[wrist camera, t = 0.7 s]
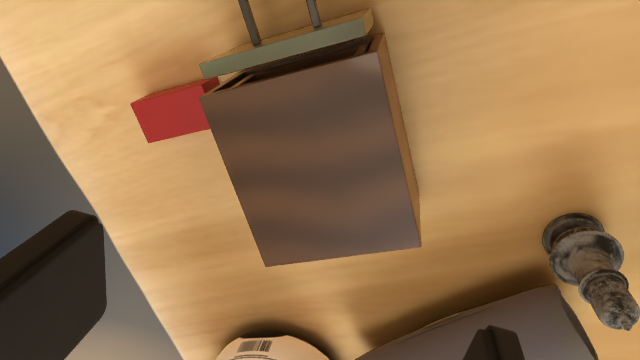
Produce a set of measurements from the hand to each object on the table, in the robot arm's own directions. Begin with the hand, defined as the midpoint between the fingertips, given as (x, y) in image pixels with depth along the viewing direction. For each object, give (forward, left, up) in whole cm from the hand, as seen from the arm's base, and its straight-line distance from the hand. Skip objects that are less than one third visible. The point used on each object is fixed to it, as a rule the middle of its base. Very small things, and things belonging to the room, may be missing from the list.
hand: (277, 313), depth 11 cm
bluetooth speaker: (+30, +3, -31) cm, 44 cm away
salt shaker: (+20, +15, -31) cm, 40 cm away
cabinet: (+5, -5, -31) cm, 32 cm away
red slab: (-1, -18, -31) cm, 36 cm away
